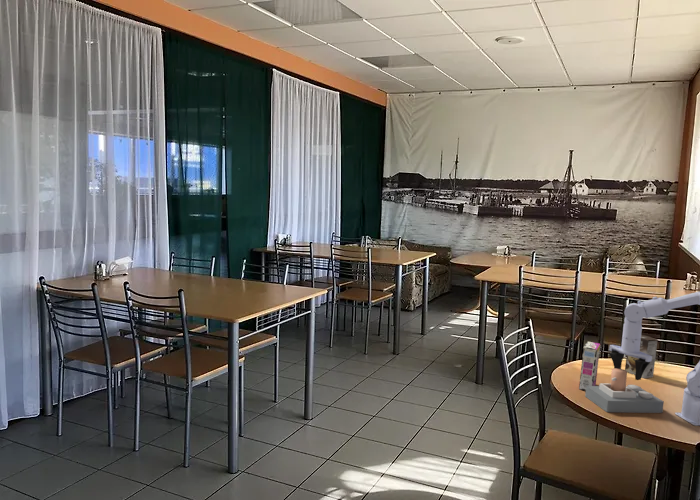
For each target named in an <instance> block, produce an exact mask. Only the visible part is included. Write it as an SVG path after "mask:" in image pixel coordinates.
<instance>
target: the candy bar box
mask: <svg viewBox="0 0 700 500" xmlns="http://www.w3.org/2000/svg"><path fill="white" fill-rule="evenodd" d="M600 348H601V343H598V342H593V341H592V342H591V341H587V342H586V343H585V344H584V346H583V348H582V350H583V351H582V357H581V358H582V360H581V369H580V375H579V384H578V390H580V391H581V390H582V391H585V392H586V386H596V384H597V379H598V378H597V376H598V368H599V359H600V352H601V351H600Z"/></svg>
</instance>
